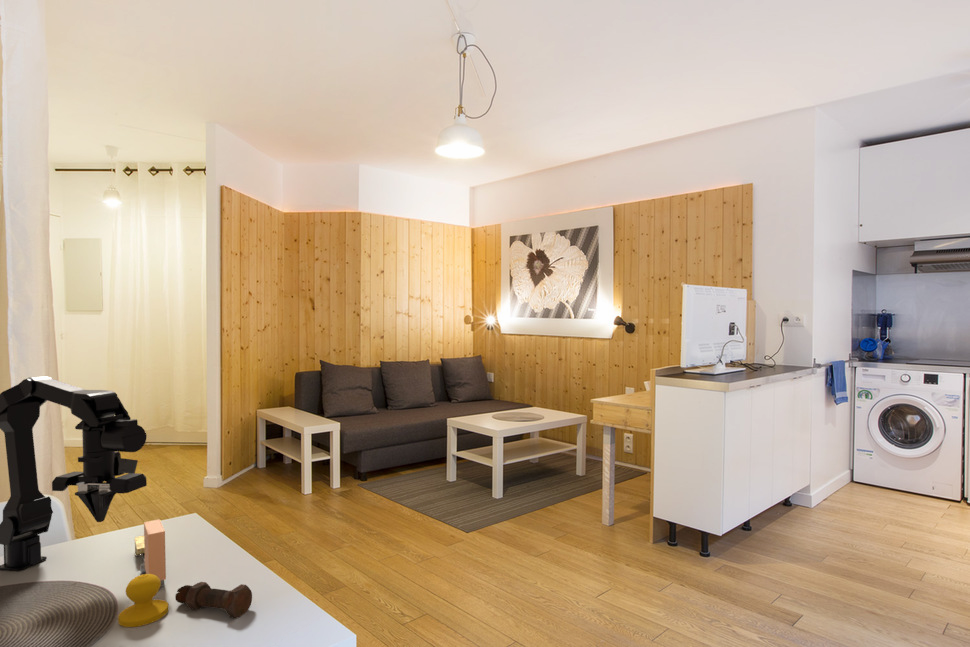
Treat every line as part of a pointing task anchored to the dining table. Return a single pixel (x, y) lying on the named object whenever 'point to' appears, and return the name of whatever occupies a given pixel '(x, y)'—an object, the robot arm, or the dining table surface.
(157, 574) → the peach block with bar
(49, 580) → the dining table surface
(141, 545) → the keeper
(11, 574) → the dining table surface
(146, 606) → the doorknob
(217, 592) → the bolt
